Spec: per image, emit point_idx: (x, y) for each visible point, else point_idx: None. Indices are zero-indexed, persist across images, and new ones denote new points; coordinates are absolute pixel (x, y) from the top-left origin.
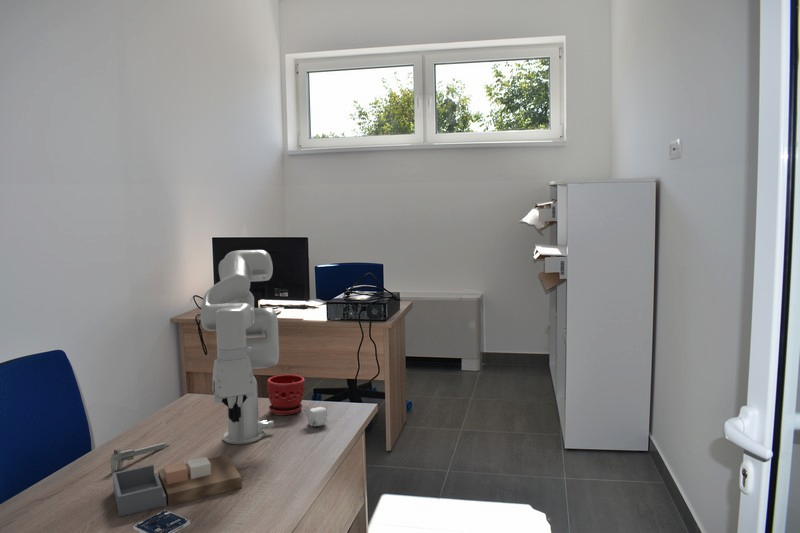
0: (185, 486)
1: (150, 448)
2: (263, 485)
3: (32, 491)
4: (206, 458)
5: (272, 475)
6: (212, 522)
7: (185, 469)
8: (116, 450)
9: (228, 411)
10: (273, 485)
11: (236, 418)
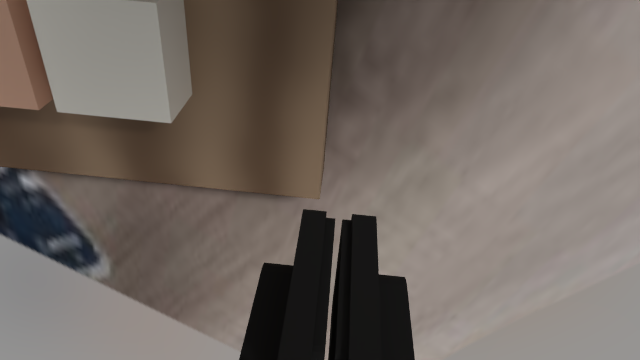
0: (65, 143)
1: None
2: (405, 201)
3: None
4: (155, 36)
5: (489, 145)
6: (173, 302)
7: (30, 107)
8: None
9: (248, 333)
10: (437, 222)
11: (330, 333)
